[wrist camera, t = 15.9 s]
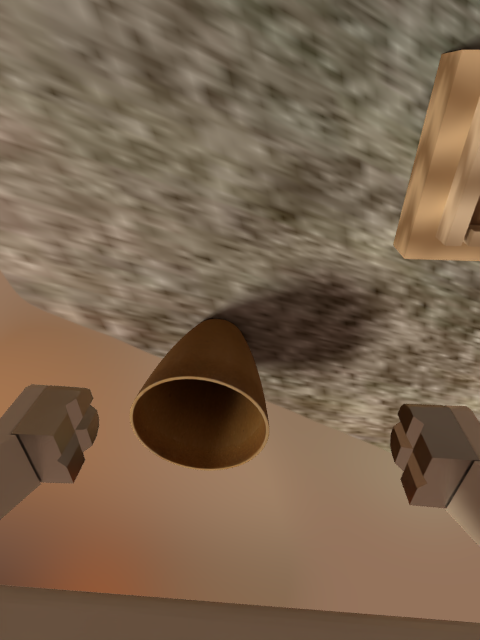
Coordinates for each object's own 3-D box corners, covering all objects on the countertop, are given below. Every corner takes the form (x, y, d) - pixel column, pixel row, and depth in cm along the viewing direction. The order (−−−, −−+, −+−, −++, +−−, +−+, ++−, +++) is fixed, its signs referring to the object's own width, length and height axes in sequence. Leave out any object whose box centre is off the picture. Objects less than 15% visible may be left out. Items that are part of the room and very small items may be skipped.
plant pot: (177, 280, 46) (141, 359, 33) (284, 314, 48) (291, 401, 34) (156, 363, 54) (120, 453, 40) (248, 389, 56) (243, 484, 42)
